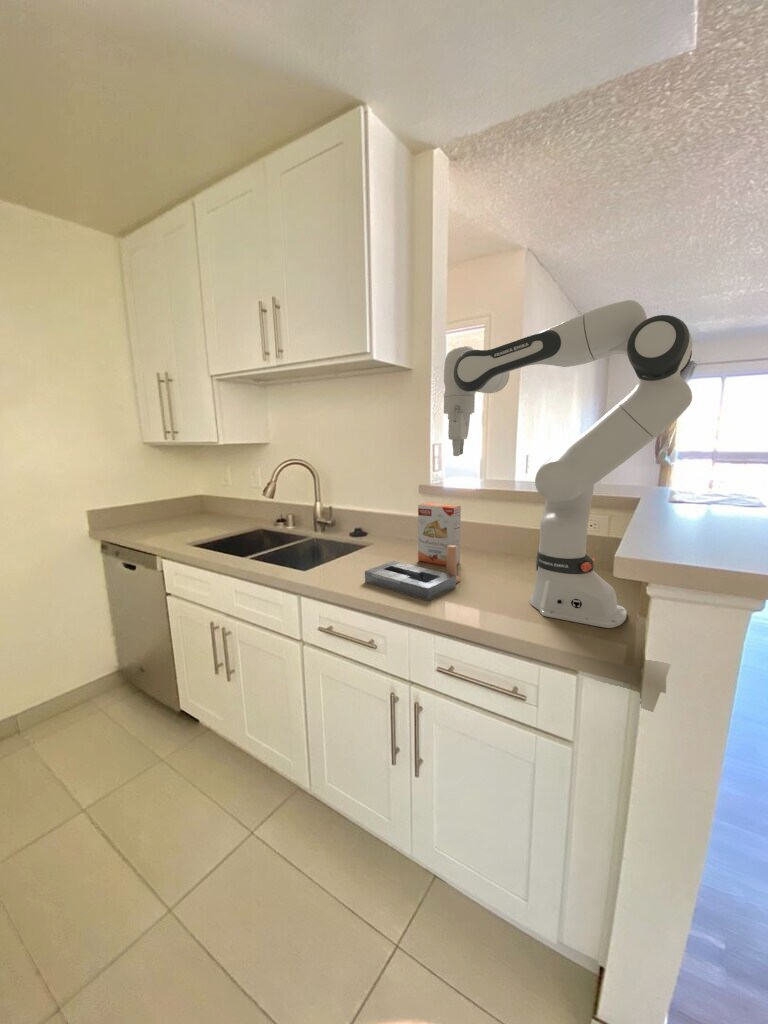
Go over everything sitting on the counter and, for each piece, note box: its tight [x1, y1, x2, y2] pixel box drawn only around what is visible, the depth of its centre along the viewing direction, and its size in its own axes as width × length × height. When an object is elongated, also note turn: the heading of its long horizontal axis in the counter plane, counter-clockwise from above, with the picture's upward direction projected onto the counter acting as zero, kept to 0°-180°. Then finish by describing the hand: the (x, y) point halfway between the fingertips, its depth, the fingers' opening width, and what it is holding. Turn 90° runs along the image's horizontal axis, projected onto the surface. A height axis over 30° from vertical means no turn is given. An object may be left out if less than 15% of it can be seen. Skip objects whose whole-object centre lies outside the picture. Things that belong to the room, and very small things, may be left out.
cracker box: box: [417, 502, 462, 567], centre depth 146 cm, size 14×6×21 cm, turn 55°
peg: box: [446, 545, 461, 584], centre depth 128 cm, size 5×5×11 cm
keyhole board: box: [364, 560, 457, 602], centre depth 126 cm, size 24×14×4 cm, turn 48°
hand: (458, 455), depth 122 cm, fingers open, 8 cm apart
